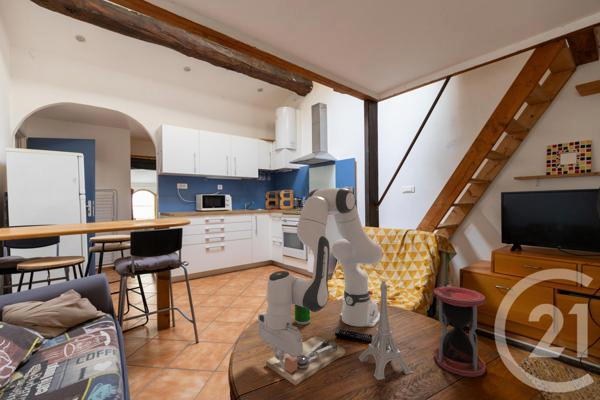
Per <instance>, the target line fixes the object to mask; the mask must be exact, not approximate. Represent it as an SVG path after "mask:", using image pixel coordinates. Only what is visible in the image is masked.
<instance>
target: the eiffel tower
mask: <svg viewBox="0 0 600 400" xmlns="http://www.w3.org/2000/svg"><path fill="white" fill-rule="evenodd" d="M379 286H380V288H379V291H380V308H379V312H380V316H379V321H378V322H377V324H378V326H377V328H376V329H375V331H376V333H375V335H374V338H373V340H372V341H371V343H369V344H368V347H367V348H366V349H365V350H364V351H363V353H362V354H361V355H359V356H358V357H357V358H358V359H359V361H360V362H362V363H363V362H368V361H369V357H371V356H373V357H374V360H375V371H374V374H373V376H374V377H375V379H376V380H377V381H380V380H384V379H386V377H385V368H386V366H387V363H388V362H390V361H396V362H398V365H400V370H401V371H402V372H403V373H404V374H405V375H409V374H413V373H414V371H412V370H411V368H410V367H409V366H408V364H407V363H406V361H405V359H404V358H403V356H402V355H401V353H402V351H400V350H399V349H397V346H396V344H395V341H394V339H393V336H392V334H393V332H392V331H391V326H390V321H389V311H388V309H389V308H388V298H387V297H388V296H387V295H388V294H387V293H388V291H389V289H388V285H387V284H386V280H384V279H383V280H382V281H381V284H380V285H379Z"/></svg>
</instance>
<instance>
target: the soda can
mask: <svg viewBox="0 0 600 400" xmlns="http://www.w3.org/2000/svg"><path fill="white" fill-rule="evenodd" d="M294 322H295V323H296V324H297V325H301V326H304V325H305V326H306V325H308V324H309V323H310V322H311V311H310V310H308V309H306V308H304V307H301V306H298V305H296V304H294Z"/></svg>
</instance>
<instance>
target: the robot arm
mask: <svg viewBox="0 0 600 400" xmlns="http://www.w3.org/2000/svg"><path fill="white" fill-rule="evenodd" d="M329 215H333V218H334V221H335V224H336V225H335V226H336V227H337V231H338V234H339V236H341V237H342V238H343V239H342V238H341V239H337V240H335V241H334V243H332V244H333V245H332V247H331V246H330V241H329V239H328V238H327V236H326V228H327V224H328V216H329ZM296 235H297V238H298V239H299V241H300V242H301V243H302V244H303V245H304V246H305V247H306V248H309V250H310V251H311V252H312V254H313V266H312V267H313V270H312V276H311V279H308V278H304V277H300V276H297V275H293V274H290V272H289V271H286V270H279V271H278V270H276V271H275V272H272V273H271V274H270V275H269V276H268V279H267V284H266V301H267V308H266V311H263V312H261V313H258V315H257V319H258V322H257V324H258V325H257V331H258V333H257V334H258V336H259V339H261V340H263V341H265V342H266V343H268V344H270V345H271V346H272V350H273V353H274V357H275V358H276V359H278V360H279V361H283V360H284V354H285V353H287V354H289V355H290V356H292V357H294V358H296V357H298V356H299V355H301V354H302V353H303V344H302V343H303V337H302V333H301V331H300V330H299V328H298V327H297V326H294V324H293V309H292V306H294V305H295V304H296V305H298V306H301V307H304V308H306V309H308V310H310V312H312V313H317V312H319V311H321V310H322V309H324V308H325V306H326V305H327V303H328V302H329V285H328V284H329V266H330V247H331V252H332V256H333V257H334V258H335V259H336V260H337V261H338V263H339V264H340V266H341V269H342V271H343V272H342V273H343V276H344V290H343V298H344V299H342V307H341V308H342V309H341V312H340V317H341V321H342V323H344V324H346V325H349V326H351V327H371V328H373V327H375V326H376V325H377V324H378V323H379V316H380V311H379V306H378V304H377V303H376V302H375V301H374V300H373V299H372V298H371V296H373V294H374V291H373V290H370V289H369V277H368V274H367V273H366V271H364V270H363V269H362V268H361V266H360V265H367V266H368V265H371V266H372V265H378V264H379V263H380V262H381V260H382V258H383V255H384V254H383V249H382V247H381V245H380V244H379V243H378V242H376V241H374V240H373V239H372V238H370V236H369V235H368V234H367V232H366V231H365V230H364V228H363V225H362V221H361V218H360V215H359V212H358V208H357V206H356V196H355V193H354V192H353V191H352V190H351V189H349V188H344V187H341V188H340V187H339V188H338V187H329V188H328V187H327V188H322V189H319V188H318V189H317V188H316V189H313V190H311V191H310V192H309V193H308V194H307V197H306V200H305V201H304V203H303V207H302V209H301V212H300V214H299V218H298V222H297V226H296ZM359 264H360V265H359Z"/></svg>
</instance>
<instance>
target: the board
mask: <svg viewBox="0 0 600 400" xmlns="http://www.w3.org/2000/svg"><path fill="white" fill-rule="evenodd" d="M322 339H323V338H321V337H319V336H317V335H315V336H313V337H311V338H308V339H307V340H305V341H302V344H303V353H302V354H301V355H305V354H307V353H308V352H309V351H310V350H311V349H312V348H313V347H314V346H315V345H316V344H318V343H319V342H320V341H321V340H322ZM329 343H331V342H330V341H329ZM323 348H324V347H323ZM345 354H346V349H344V348H343V347H342V346H339V345H337V351H335V352H333V353H331V354H329V355H326V356H324V357H322V358H320V359H317V360H315V361H313V362H311V363H309V368H307V369H305V370H299V369H297V370H295V371H294V372H292V373H290V372H288V371H287V370H285V358H287V357H289V356H290V355H289V354H287V353H285V354H284V360H283V361H279V360H278V359H276V358H275V356H273V357H271V358H269V359H267V360H266V361H265V365H266V367H268V368H269V369H271V370H272V371H274V372H275V373H276V374H278V375H279V376H281V377H282V378H284V379H285V380H287V381H288V382H289V383H291V384H293V385H294V386H296V385H298V384H300V383H301V382H303V381H304V380H306V379H308V378H309V377H311V376H313V375H314V374H316V373H317V372H319V371H320V370H322V369H324V368H325V367H326V366H328V365H330V364H331V363H333V362H335V361H336V360H338V359H339V358H341V357H342V356H344V355H345ZM299 356H300V355H299ZM311 357H313V355H311V356H310V357H309V358H311ZM296 358H297V357H296ZM309 358H308V359H309Z"/></svg>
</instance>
